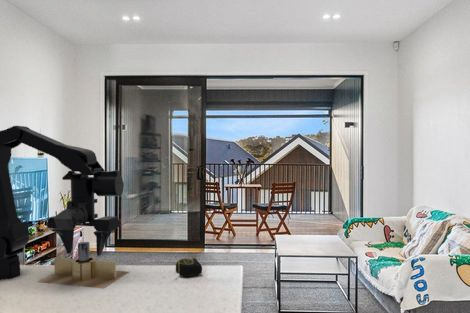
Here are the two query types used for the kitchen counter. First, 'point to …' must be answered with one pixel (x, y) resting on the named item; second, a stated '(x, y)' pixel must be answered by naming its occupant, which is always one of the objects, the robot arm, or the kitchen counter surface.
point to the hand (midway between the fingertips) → (84, 254)
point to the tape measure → (188, 267)
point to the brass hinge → (85, 269)
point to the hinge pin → (83, 252)
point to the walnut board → (87, 283)
